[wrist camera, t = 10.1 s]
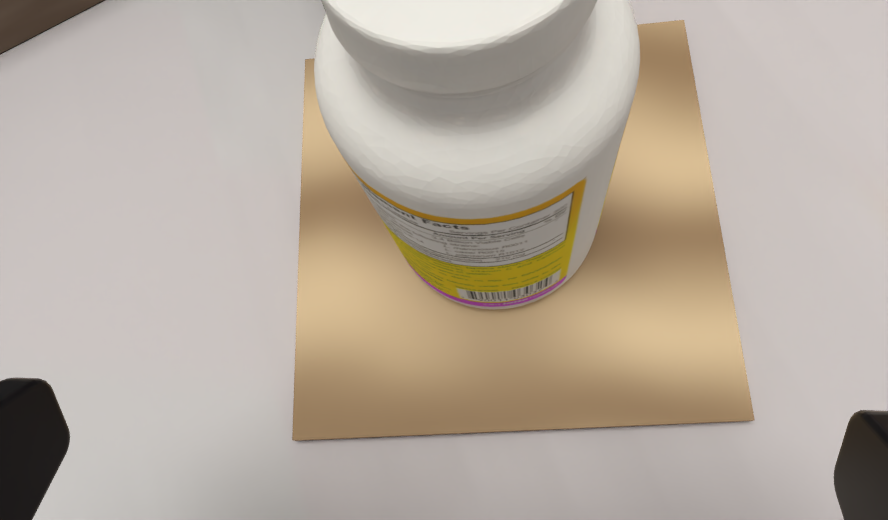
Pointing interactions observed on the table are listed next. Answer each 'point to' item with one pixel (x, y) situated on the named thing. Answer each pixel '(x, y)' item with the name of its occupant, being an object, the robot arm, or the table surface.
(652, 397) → the coaster
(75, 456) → the table surface
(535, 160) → the supplement bottle
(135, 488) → the table surface
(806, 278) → the table surface
